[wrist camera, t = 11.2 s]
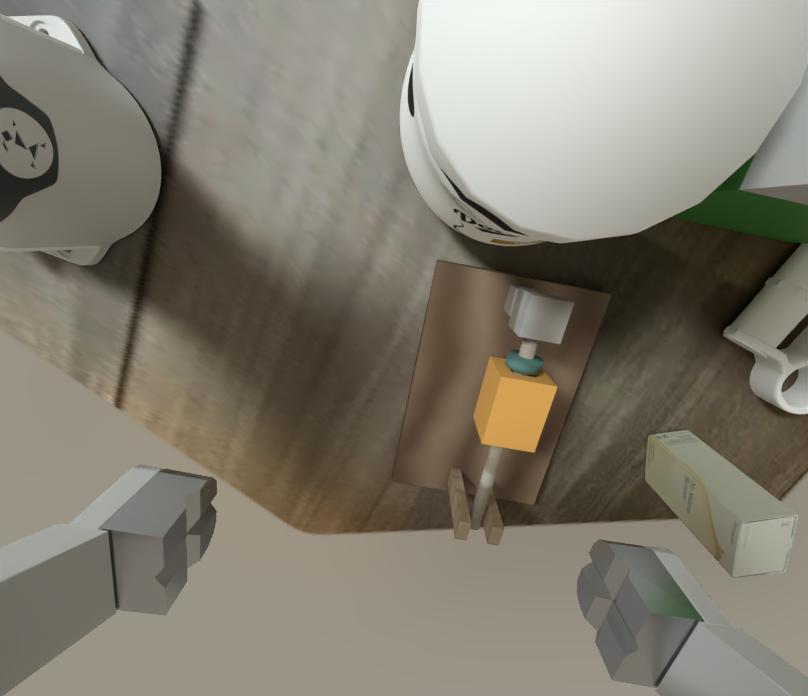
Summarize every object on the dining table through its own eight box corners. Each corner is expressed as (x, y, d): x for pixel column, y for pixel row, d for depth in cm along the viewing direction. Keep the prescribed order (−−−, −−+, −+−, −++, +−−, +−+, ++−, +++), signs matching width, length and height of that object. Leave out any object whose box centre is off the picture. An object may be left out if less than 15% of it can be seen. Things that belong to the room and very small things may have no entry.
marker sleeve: (473, 416, 34) (481, 443, 30) (489, 356, 33) (501, 376, 28) (519, 424, 35) (534, 452, 31) (539, 365, 33) (557, 386, 29)
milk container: (483, 281, 35) (552, 340, 18) (358, 121, 31) (295, 4, 14) (651, 146, 31) (939, 61, 14) (534, -58, 27) (741, -518, 10)
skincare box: (646, 433, 40) (740, 520, 29) (689, 428, 40) (801, 513, 28) (643, 481, 42) (730, 580, 31) (684, 476, 42) (787, 574, 30)
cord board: (392, 472, 42) (387, 536, 34) (437, 259, 35) (445, 273, 26) (529, 495, 43) (558, 563, 35) (603, 291, 35) (664, 314, 27)
